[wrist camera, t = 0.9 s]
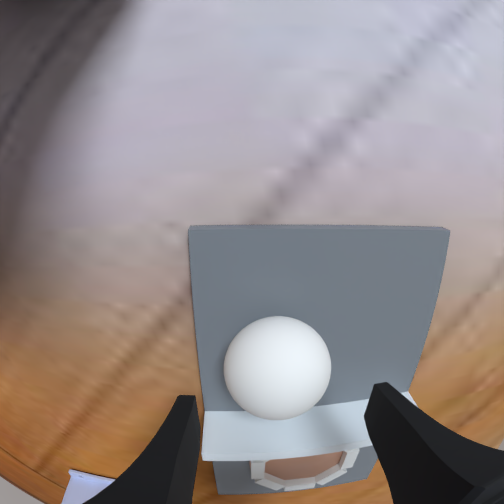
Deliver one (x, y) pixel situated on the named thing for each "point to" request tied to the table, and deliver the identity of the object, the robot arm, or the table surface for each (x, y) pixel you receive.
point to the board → (325, 324)
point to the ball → (277, 368)
